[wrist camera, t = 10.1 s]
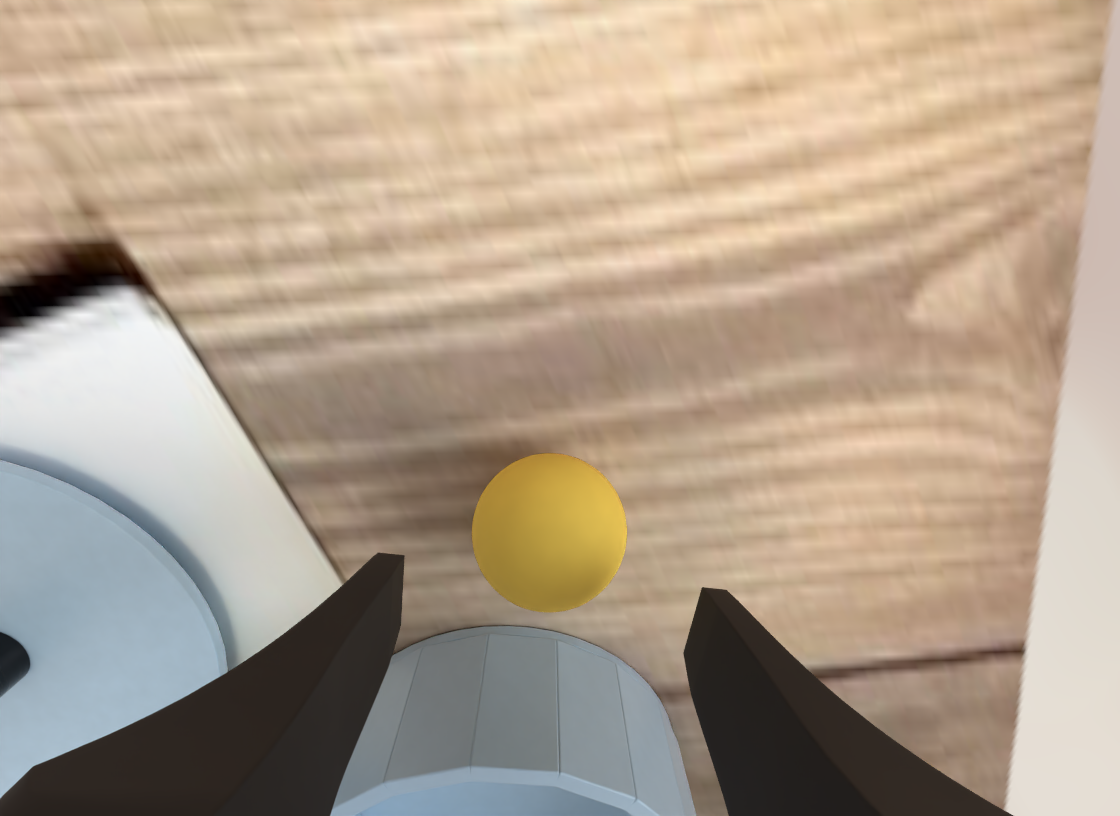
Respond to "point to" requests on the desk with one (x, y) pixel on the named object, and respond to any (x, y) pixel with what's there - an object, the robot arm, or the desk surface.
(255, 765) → the robot arm
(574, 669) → the pot
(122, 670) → the lid
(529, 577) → the ball
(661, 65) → the desk surface
